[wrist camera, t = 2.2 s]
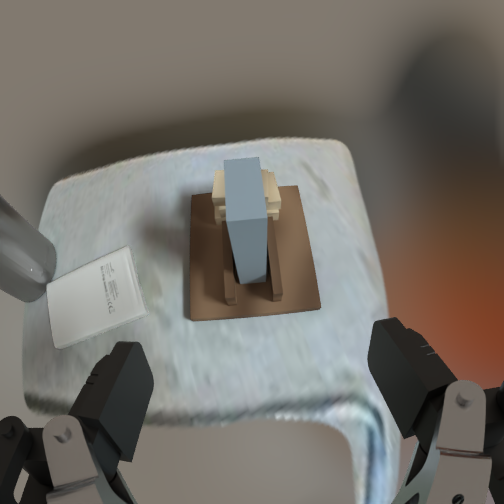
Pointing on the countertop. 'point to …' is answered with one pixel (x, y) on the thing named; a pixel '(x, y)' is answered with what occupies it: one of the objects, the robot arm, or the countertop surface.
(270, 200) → the birch offcut stack
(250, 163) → the slate-blue block
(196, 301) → the walnut stand
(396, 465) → the countertop surface
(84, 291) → the external hard drive
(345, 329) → the countertop surface
